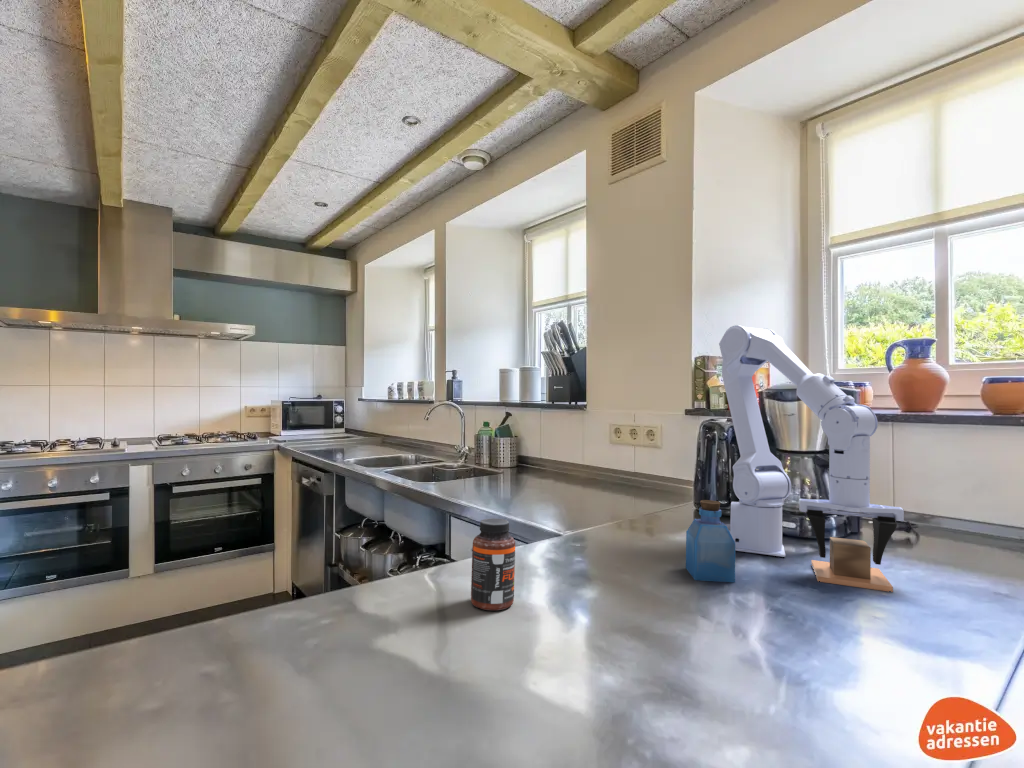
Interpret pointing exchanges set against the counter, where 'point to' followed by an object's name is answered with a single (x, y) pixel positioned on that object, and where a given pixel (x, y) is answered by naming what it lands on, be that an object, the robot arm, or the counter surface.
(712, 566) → the perfume bottle
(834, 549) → the cube
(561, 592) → the counter surface
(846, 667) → the counter surface
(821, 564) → the plate
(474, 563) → the supplement bottle
